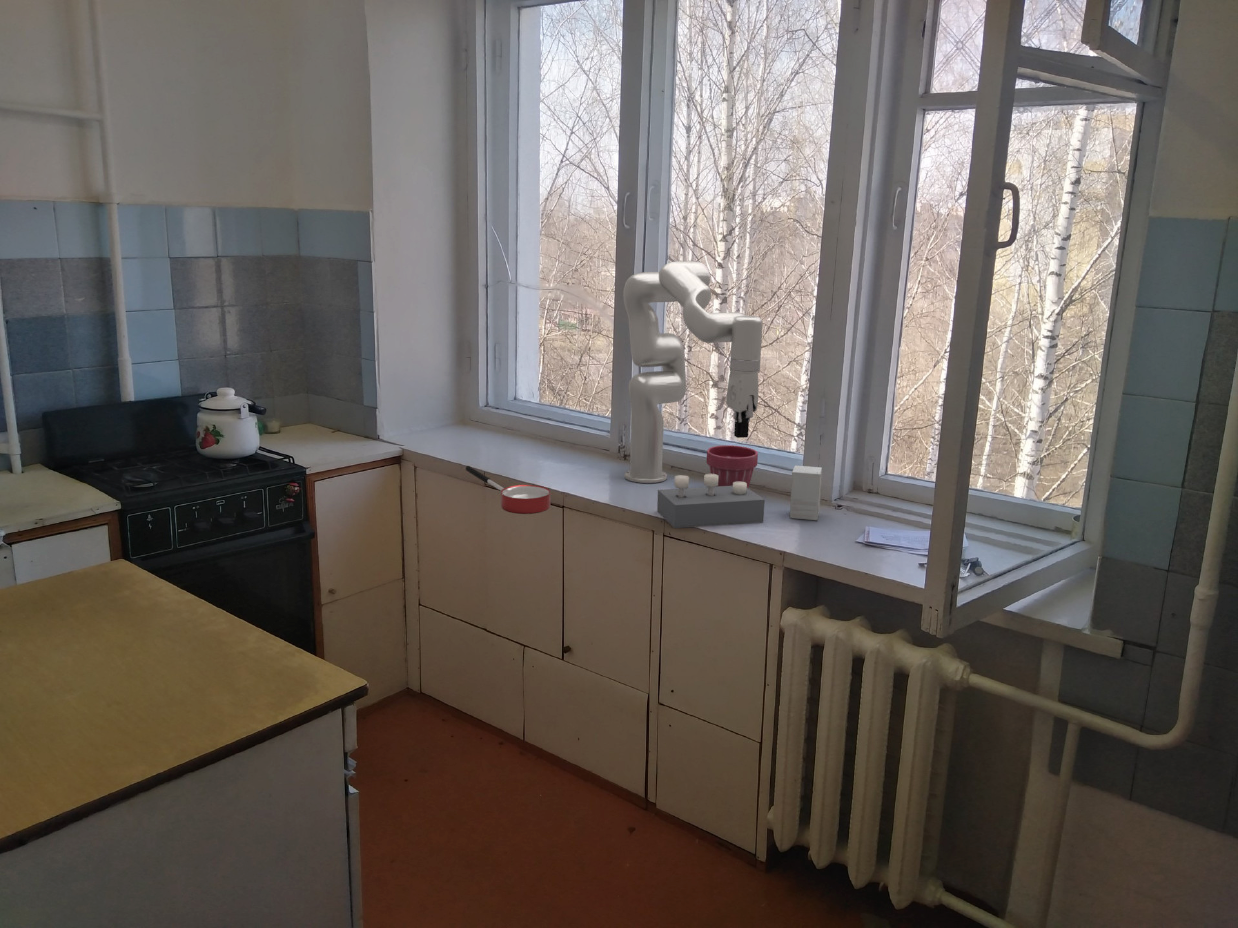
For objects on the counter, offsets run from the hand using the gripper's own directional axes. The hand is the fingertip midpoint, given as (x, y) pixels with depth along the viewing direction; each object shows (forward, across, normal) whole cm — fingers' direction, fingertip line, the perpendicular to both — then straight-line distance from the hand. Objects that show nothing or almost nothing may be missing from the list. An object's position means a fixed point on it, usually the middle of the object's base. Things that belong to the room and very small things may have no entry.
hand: (741, 436), depth 244 cm
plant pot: (+21, -18, +6) cm, 28 cm away
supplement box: (+21, +4, +17) cm, 28 cm away
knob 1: (+17, 0, -16) cm, 23 cm away
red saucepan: (+21, -26, -58) cm, 67 cm away
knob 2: (+17, 0, -8) cm, 19 cm away
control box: (+21, 0, -8) cm, 22 cm away
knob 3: (+20, 0, 0) cm, 20 cm away
